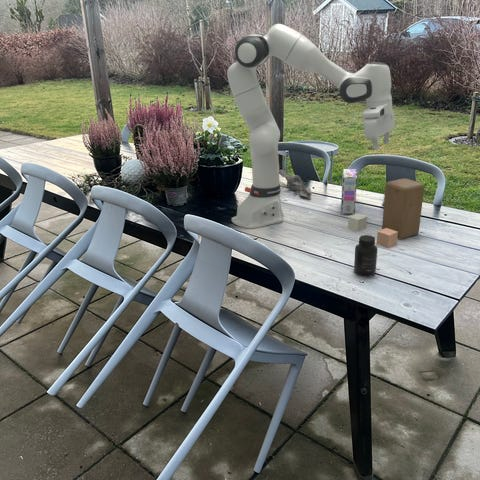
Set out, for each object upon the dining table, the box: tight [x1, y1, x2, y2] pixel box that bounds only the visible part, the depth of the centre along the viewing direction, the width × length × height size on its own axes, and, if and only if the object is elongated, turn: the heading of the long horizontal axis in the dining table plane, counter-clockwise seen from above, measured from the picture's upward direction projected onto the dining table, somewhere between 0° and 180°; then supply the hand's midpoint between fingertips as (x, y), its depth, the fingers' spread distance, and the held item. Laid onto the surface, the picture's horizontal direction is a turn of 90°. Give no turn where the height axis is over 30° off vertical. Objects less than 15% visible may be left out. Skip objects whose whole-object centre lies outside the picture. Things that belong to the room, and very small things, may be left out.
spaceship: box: [279, 168, 313, 199], centre depth 231 cm, size 8×35×8 cm
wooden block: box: [381, 177, 425, 240], centre depth 174 cm, size 10×10×20 cm
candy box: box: [340, 168, 358, 215], centre depth 201 cm, size 14×6×16 cm, turn 168°
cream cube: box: [347, 213, 368, 232], centre depth 183 cm, size 5×5×5 cm
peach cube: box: [375, 228, 398, 249], centre depth 168 cm, size 5×5×5 cm
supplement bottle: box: [353, 234, 378, 277], centre depth 148 cm, size 7×7×12 cm
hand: (381, 146), depth 175 cm, fingers open, 8 cm apart
